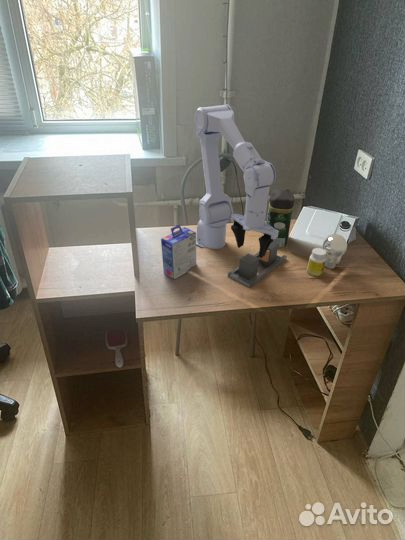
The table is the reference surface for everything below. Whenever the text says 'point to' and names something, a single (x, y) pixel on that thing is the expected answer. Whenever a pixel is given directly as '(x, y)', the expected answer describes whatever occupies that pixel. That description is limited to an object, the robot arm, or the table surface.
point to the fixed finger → (270, 254)
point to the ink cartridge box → (178, 251)
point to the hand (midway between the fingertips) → (251, 251)
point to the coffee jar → (280, 214)
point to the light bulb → (334, 249)
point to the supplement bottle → (316, 262)
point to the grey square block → (248, 266)
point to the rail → (261, 272)
